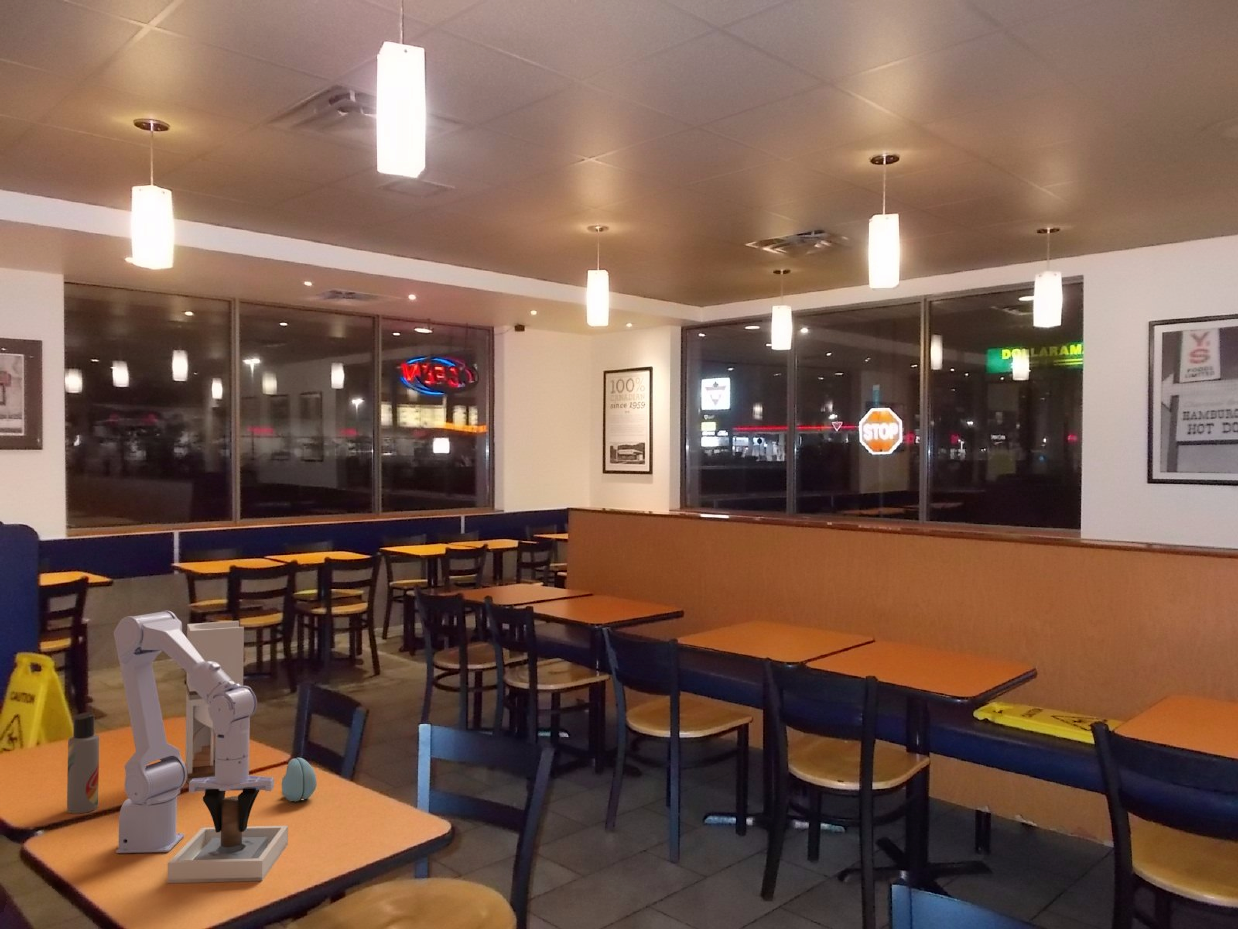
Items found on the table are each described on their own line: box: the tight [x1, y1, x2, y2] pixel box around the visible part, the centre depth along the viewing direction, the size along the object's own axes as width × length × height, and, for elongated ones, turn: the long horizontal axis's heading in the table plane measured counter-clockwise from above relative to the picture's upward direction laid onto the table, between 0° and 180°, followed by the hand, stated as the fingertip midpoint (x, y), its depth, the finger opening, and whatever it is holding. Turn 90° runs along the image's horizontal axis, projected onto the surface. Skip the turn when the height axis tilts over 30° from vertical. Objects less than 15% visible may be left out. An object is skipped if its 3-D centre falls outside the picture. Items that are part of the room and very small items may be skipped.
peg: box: [221, 795, 242, 847], centre depth 167 cm, size 4×4×8 cm
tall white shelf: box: [184, 620, 245, 785], centre depth 216 cm, size 11×11×35 cm
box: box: [167, 825, 289, 884], centre depth 167 cm, size 16×16×4 cm
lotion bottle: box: [66, 712, 100, 815], centre depth 193 cm, size 6×6×20 cm
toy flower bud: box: [281, 757, 318, 802], centre depth 201 cm, size 7×9×12 cm
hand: (231, 830), depth 167 cm, fingers closed on peg, 4 cm apart
